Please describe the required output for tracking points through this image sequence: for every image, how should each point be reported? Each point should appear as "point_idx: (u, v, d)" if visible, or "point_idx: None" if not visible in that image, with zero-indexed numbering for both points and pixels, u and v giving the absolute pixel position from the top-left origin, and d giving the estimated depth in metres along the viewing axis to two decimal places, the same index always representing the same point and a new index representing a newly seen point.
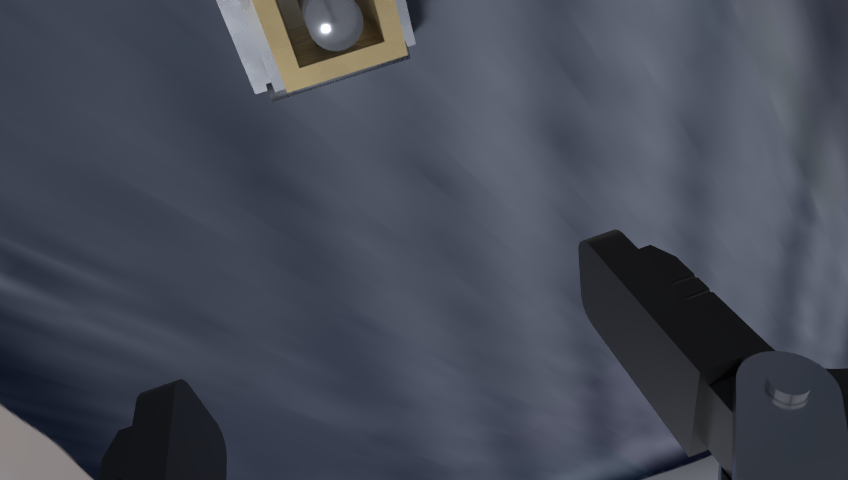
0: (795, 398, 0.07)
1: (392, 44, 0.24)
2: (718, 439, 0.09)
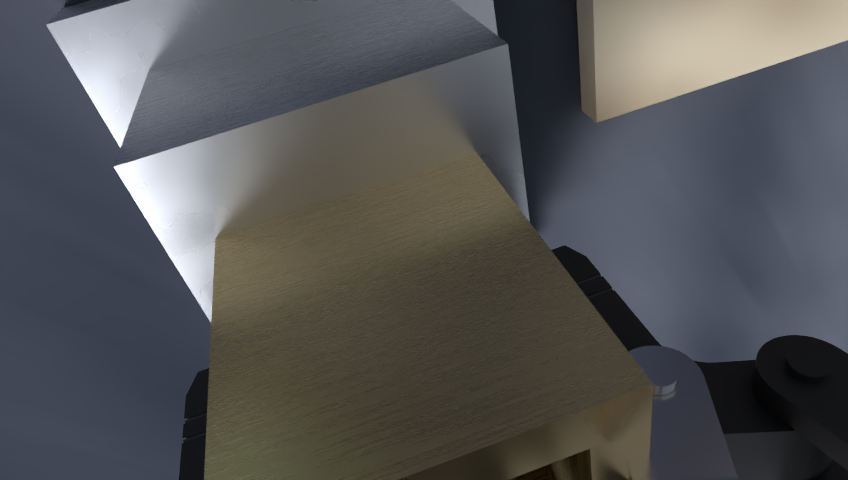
0: (662, 389, 0.08)
1: None
2: None
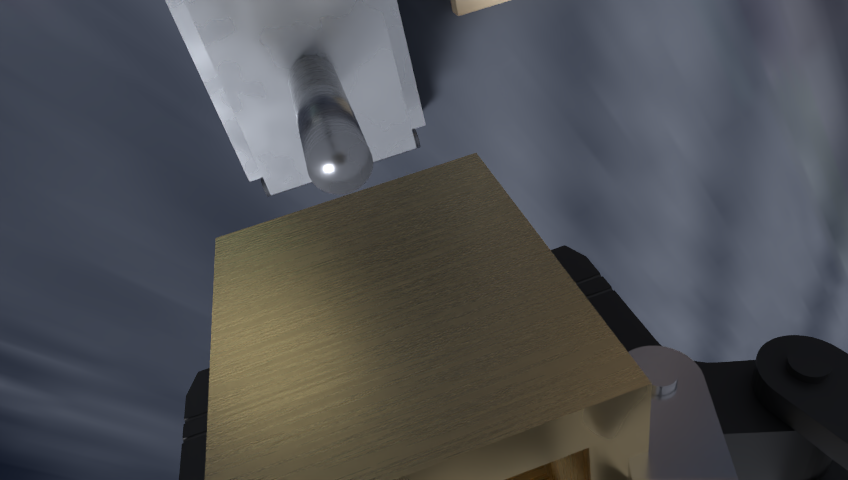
0: (662, 389, 0.08)
1: None
2: None
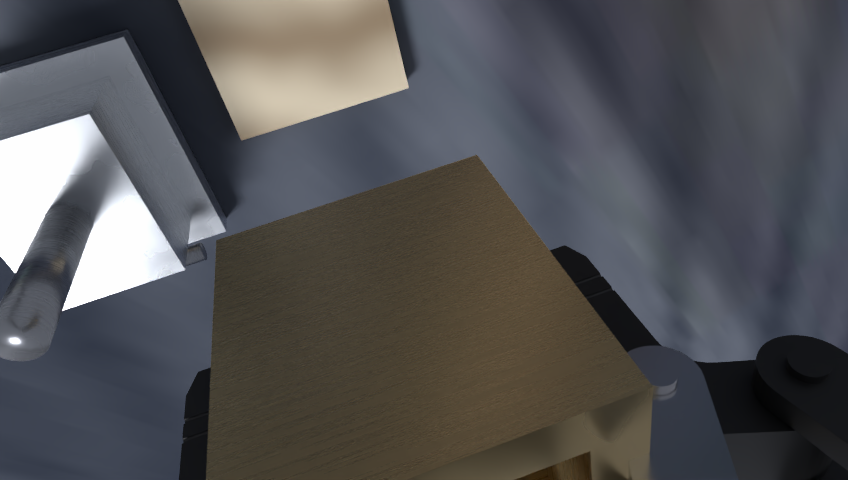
0: (662, 389, 0.08)
1: None
2: None
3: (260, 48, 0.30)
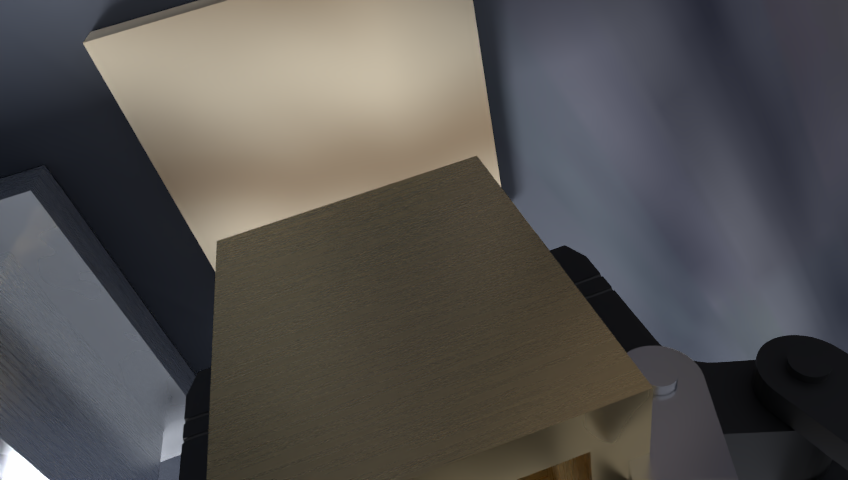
0: (662, 389, 0.08)
1: None
2: None
3: (275, 188, 0.18)
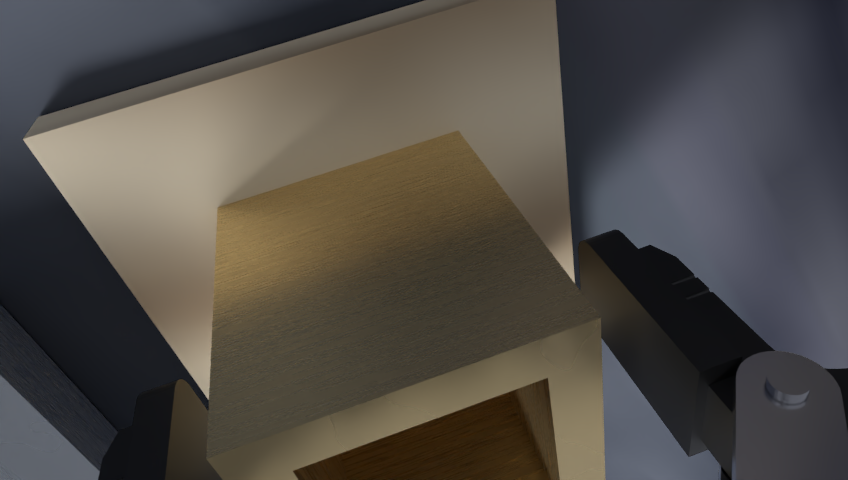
0: (795, 398, 0.07)
1: None
2: (718, 439, 0.09)
3: None
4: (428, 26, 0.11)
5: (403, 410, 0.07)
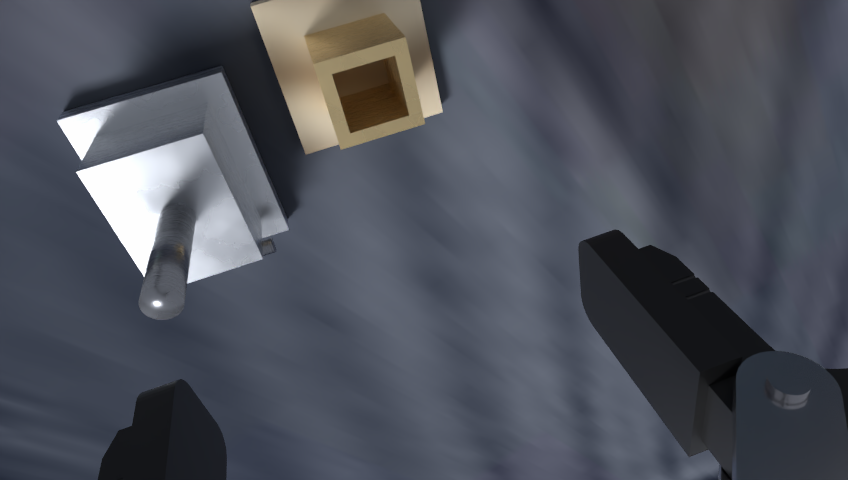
0: (795, 398, 0.07)
1: (414, 117, 0.34)
2: (718, 439, 0.09)
3: None
4: None
5: (358, 58, 0.31)
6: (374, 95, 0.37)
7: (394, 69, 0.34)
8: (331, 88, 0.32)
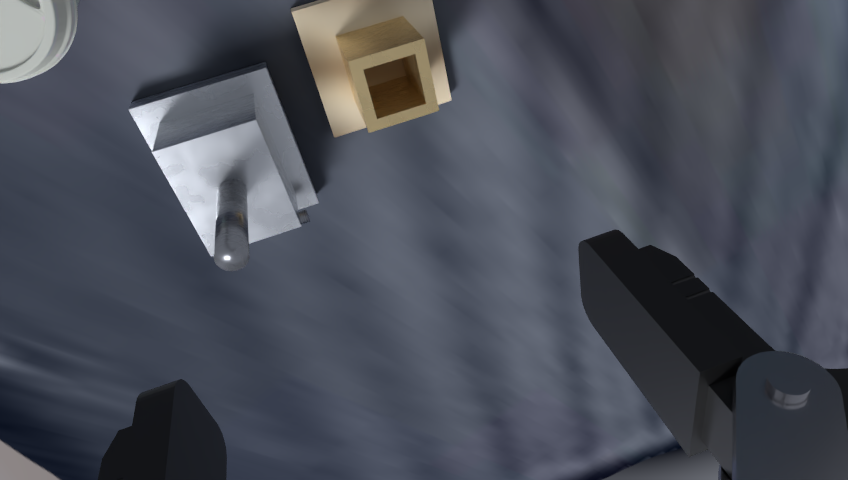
0: (795, 398, 0.07)
1: (430, 105, 0.41)
2: (718, 439, 0.09)
3: None
4: None
5: (385, 56, 0.38)
6: (394, 86, 0.44)
7: (413, 64, 0.40)
8: (362, 81, 0.38)
